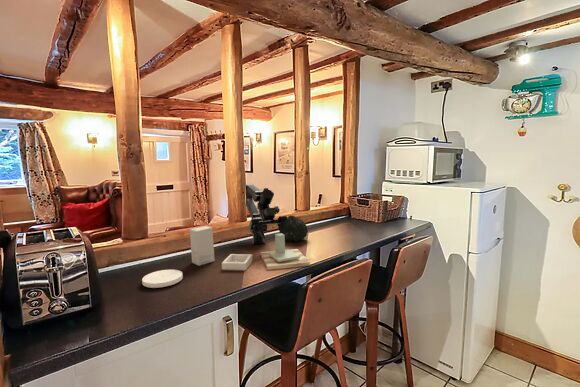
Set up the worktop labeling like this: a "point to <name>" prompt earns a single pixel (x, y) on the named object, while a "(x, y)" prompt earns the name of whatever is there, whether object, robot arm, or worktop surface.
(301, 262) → the birch board
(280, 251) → the sage lid
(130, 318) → the worktop surface
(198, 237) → the skincare box
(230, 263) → the tray
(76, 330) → the worktop surface
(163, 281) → the plastic lid
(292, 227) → the squash
